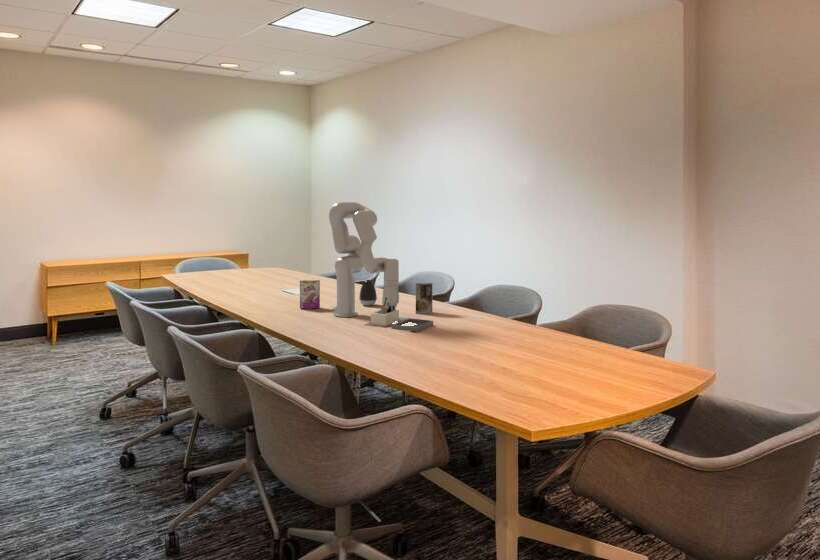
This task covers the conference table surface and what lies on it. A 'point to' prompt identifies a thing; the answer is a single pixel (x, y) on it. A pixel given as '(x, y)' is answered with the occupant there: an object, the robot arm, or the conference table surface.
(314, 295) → the candy bar box
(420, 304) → the coffee box
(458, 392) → the conference table surface
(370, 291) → the dark vase
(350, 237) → the robot arm
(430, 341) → the conference table surface
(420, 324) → the tray
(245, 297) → the conference table surface
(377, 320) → the collar
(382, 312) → the stake stand
